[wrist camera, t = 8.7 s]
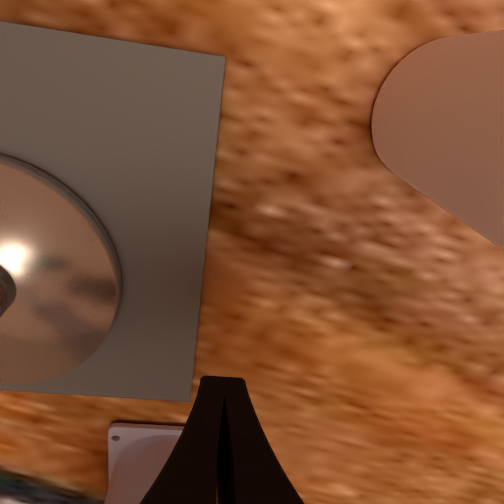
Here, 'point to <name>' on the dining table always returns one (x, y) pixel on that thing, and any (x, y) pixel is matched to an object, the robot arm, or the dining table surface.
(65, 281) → the dial
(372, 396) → the dining table surface
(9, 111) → the dial board
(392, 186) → the dining table surface
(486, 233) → the can
